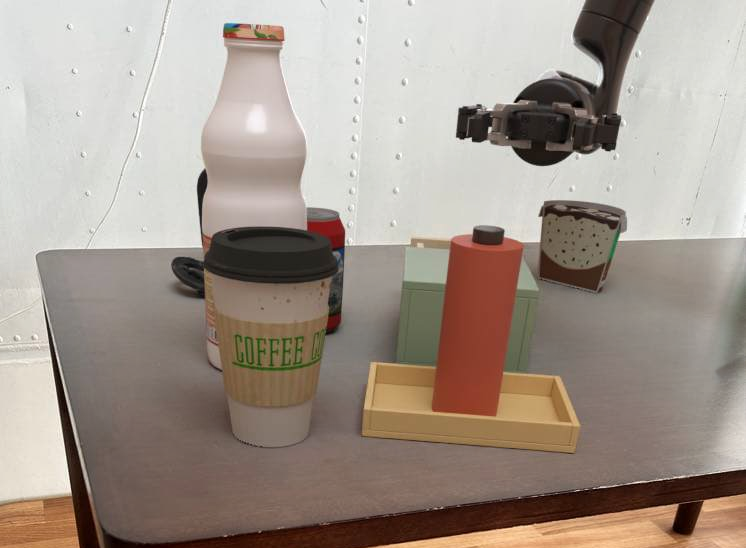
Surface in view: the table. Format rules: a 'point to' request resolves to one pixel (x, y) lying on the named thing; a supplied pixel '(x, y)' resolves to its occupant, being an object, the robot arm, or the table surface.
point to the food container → (578, 242)
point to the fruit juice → (251, 148)
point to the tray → (508, 429)
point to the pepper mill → (476, 321)
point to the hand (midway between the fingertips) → (527, 132)
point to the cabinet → (426, 308)
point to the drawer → (430, 242)
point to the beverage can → (333, 229)
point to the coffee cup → (270, 326)
